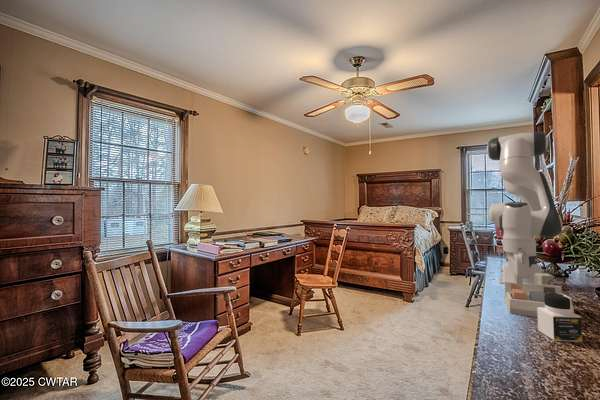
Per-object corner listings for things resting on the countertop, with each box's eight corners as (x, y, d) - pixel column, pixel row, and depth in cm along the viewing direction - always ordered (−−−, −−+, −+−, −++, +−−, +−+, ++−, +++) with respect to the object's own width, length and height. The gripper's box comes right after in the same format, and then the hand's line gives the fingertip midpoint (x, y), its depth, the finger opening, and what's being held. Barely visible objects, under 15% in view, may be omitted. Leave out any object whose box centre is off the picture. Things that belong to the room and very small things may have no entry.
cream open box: (505, 301, 116) (504, 281, 117) (561, 308, 108) (560, 286, 108) (510, 313, 104) (509, 290, 104) (574, 321, 95) (573, 296, 96)
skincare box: (555, 302, 115) (554, 276, 115) (542, 301, 116) (541, 275, 116) (547, 297, 120) (546, 273, 120) (534, 297, 121) (533, 272, 121)
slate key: (529, 297, 107) (528, 290, 107) (542, 298, 105) (542, 291, 105) (531, 301, 103) (531, 294, 103) (545, 302, 101) (545, 295, 101)
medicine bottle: (554, 341, 83) (552, 298, 83) (537, 330, 90) (536, 290, 90) (583, 342, 82) (581, 298, 82) (563, 331, 89) (562, 291, 89)
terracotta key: (512, 295, 109) (512, 288, 110) (524, 296, 108) (524, 289, 108) (514, 299, 105) (513, 292, 105) (527, 300, 103) (527, 293, 103)
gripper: (534, 251, 96) (536, 294, 96) (523, 244, 114) (525, 280, 114) (511, 250, 99) (512, 291, 99) (503, 243, 117) (505, 278, 117)
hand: (519, 285), depth 106 cm, fingers closed
